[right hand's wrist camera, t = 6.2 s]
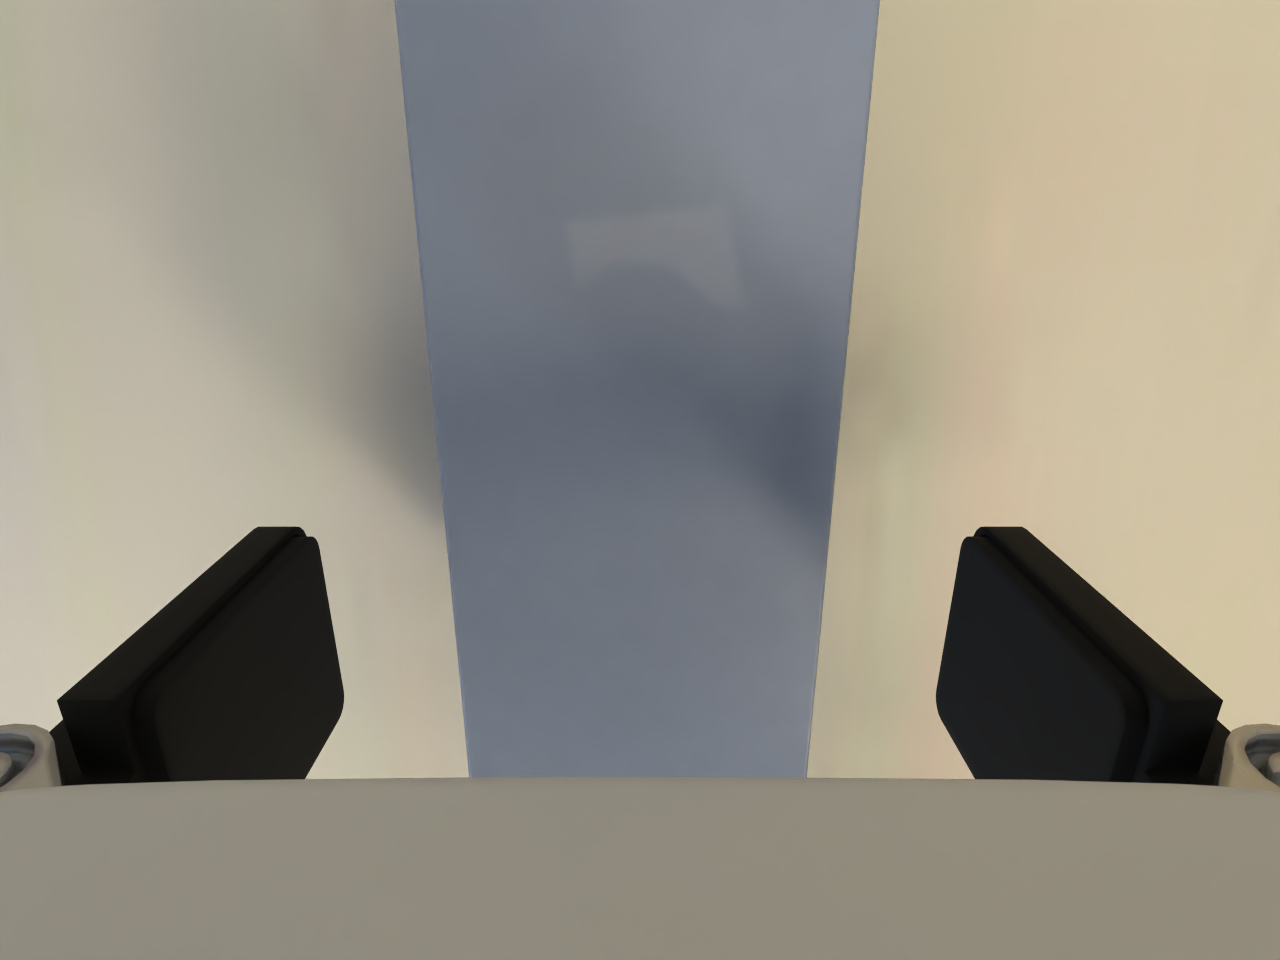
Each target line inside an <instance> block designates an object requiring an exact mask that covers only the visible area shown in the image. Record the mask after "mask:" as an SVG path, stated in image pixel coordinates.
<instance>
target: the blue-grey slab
mask: <svg viewBox="0 0 1280 960" xmlns="http://www.w3.org/2000/svg"><path fill="white" fill-rule="evenodd" d="M879 3H880V0H395V9H396V20H397V30H398V40H399V51H400V61H401V72H402V82H403V92H404V103H405V113H406V123H407V134H408V144H409V155H410V165H411V175H412V186H413V196H414V207H415V217H416V227H417V238H418V248H419V259H420V269H421V279H422V290H423V300H424V310H425V321H426V331H427V342H428V352H429V362H430V373H431V383H432V394H433V404H434V414H435V425H436V435H437V445H438V456H439V466H440V477H441V487H442V497H443V508H444V518H445V529H446V539H447V549H448V560H449V570H450V581H451V591H452V601H453V612H454V622H455V632H456V643H457V653H458V664H459V674H460V684H461V695H462V705H463V716H464V726H465V736H466V747H467V757H468V768H469V778H476V777H771V778H807V769H808V758H809V748H810V737H811V726H812V716H813V705H814V694H815V684H816V673H817V663H818V652H819V641H820V631H821V620H822V609H823V599H824V588H825V577H826V567H827V556H828V546H829V535H830V524H831V514H832V503H833V492H834V482H835V471H836V461H837V450H838V439H839V429H840V418H841V407H842V397H843V386H844V376H845V365H846V354H847V344H848V333H849V322H850V312H851V301H852V290H853V280H854V269H855V259H856V248H857V237H858V227H859V216H860V205H861V195H862V184H863V174H864V163H865V152H866V142H867V131H868V120H869V110H870V99H871V89H872V78H873V67H874V57H875V46H876V35H877V25H878V14H879Z"/></svg>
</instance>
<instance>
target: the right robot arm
mask: <svg viewBox="0 0 1280 960" xmlns="http://www.w3.org/2000/svg"><path fill="white" fill-rule="evenodd" d="M57 702H58V705H59V708H60V711H61V714H62V717H63V720H62V721H61V722H60V723H59V724H58V725H57V726H56V727H54V728H53V729H52V730H51V731H50V732H49V731H48V730H46V729H43V728H41V727H38V726H36V725H27V724H9V725H2V726H0V960H1280V726H1278V725H1271V724H1253V725H1244V726H1242V727H1239V728H1237V729H1234V730H1232V731H1231V732H1230V731H1229V730H1228V729H1227V728H1226V727H1224V726H1223V725H1222V724H1221V723H1220V722H1219V721H1218V720H1217V717H1218V714H1219V711H1220V708H1221V705H1222V702H1223V700H1222V699H1221V698H1220V697H1218V696H1217V695H1216V694H1215V693H1214V692H1213V691H1212V690H1210V689H1209V688H1208V687H1207V686H1206V685H1205V684H1204V683H1202V682H1201V681H1200V680H1199V679H1198V678H1197V677H1195V676H1194V675H1193V674H1192V673H1191V672H1190V671H1189V670H1187V669H1186V668H1185V667H1184V666H1183V665H1182V664H1181V663H1179V662H1178V661H1177V660H1176V659H1175V658H1174V657H1172V656H1171V655H1170V654H1169V653H1168V652H1167V651H1166V650H1164V649H1163V648H1162V647H1161V646H1160V645H1159V644H1158V643H1156V642H1155V641H1154V640H1153V639H1152V638H1151V637H1150V636H1148V635H1147V634H1146V633H1145V632H1144V631H1143V630H1141V629H1140V628H1139V627H1138V626H1137V625H1136V624H1135V623H1133V622H1132V621H1131V620H1130V619H1129V618H1128V617H1127V616H1125V615H1124V614H1123V613H1122V612H1121V611H1120V610H1118V609H1117V608H1116V607H1115V606H1114V605H1113V604H1112V603H1110V602H1109V601H1108V600H1107V599H1106V598H1105V597H1104V596H1102V595H1101V594H1100V593H1099V592H1098V591H1097V590H1095V589H1094V588H1093V587H1092V586H1091V585H1090V584H1089V583H1087V582H1086V581H1085V580H1084V579H1083V578H1082V577H1081V576H1079V575H1078V574H1077V573H1076V572H1075V571H1074V570H1072V569H1071V568H1070V567H1069V566H1068V565H1067V564H1066V563H1064V562H1063V561H1062V560H1061V559H1060V558H1059V557H1058V556H1056V555H1055V554H1054V553H1053V552H1052V551H1051V550H1050V549H1048V548H1047V547H1046V546H1045V545H1044V544H1043V543H1041V542H1040V541H1039V540H1038V539H1037V538H1036V537H1035V536H1033V535H1032V534H1031V533H1030V532H1029V531H1028V530H1027V529H1025V528H1023V527H980V528H979V529H978V530H976V532H975V534H974V536H973V537H966V538H965V539H964V541H963V542H962V545H961V549H960V555H959V561H958V567H957V573H956V579H955V585H954V590H953V596H952V602H951V608H950V614H949V620H948V626H947V631H946V637H945V643H944V649H943V655H942V661H941V667H940V673H939V678H938V684H937V690H936V704H937V709H938V713H939V716H940V718H941V720H942V722H943V724H944V725H945V727H946V729H947V731H948V732H949V734H950V736H951V738H952V739H953V741H954V743H955V745H956V746H957V748H958V750H959V752H960V753H961V755H962V757H963V759H964V760H965V762H966V764H967V766H968V767H969V769H970V771H971V773H972V774H973V776H974V778H975V779H885V778H771V777H476V778H387V779H305V778H306V776H307V774H308V773H309V771H310V769H311V767H312V766H313V764H314V762H315V760H316V759H317V757H318V755H319V753H320V752H321V750H322V748H323V746H324V745H325V743H326V741H327V739H328V738H329V736H330V734H331V732H332V731H333V729H334V727H335V725H336V724H337V722H338V720H339V718H340V716H341V713H342V709H343V704H344V690H343V684H342V678H341V673H340V667H339V661H338V655H337V649H336V643H335V637H334V631H333V626H332V620H331V614H330V608H329V602H328V596H327V590H326V585H325V579H324V573H323V567H322V561H321V555H320V549H319V545H318V542H317V541H316V539H315V538H314V537H307V536H306V534H305V532H304V530H302V529H301V528H300V527H257V528H255V529H253V530H252V531H251V532H250V533H249V534H248V535H247V536H245V537H244V538H243V539H242V540H241V541H240V542H239V543H237V544H236V545H235V546H234V547H233V548H232V549H230V550H229V551H228V552H227V553H226V554H225V555H224V556H222V557H221V558H220V559H219V560H218V561H217V562H216V563H214V564H213V565H212V566H211V567H210V568H209V569H208V570H206V571H205V572H204V573H203V574H202V575H201V576H199V577H198V578H197V579H196V580H195V581H194V582H193V583H191V584H190V585H189V586H188V587H187V588H186V589H185V590H183V591H182V592H181V593H180V594H179V595H178V596H176V597H175V598H174V599H173V600H172V601H171V602H170V603H168V604H167V605H166V606H165V607H164V608H163V609H162V610H160V611H159V612H158V613H157V614H156V615H155V616H153V617H152V618H151V619H150V620H149V621H148V622H147V623H145V624H144V625H143V626H142V627H141V628H140V629H139V630H137V631H136V632H135V633H134V634H133V635H132V636H130V637H129V638H128V639H127V640H126V641H125V642H124V643H122V644H121V645H120V646H119V647H118V648H117V649H116V650H114V651H113V652H112V653H111V654H110V655H109V656H108V657H106V658H105V659H104V660H103V661H102V662H101V663H99V664H98V665H97V666H96V667H95V668H94V669H93V670H91V671H90V672H89V673H88V674H87V675H86V676H85V677H83V678H82V679H81V680H80V681H79V682H78V683H76V684H75V685H74V686H73V687H72V688H71V689H70V690H68V691H67V692H66V693H65V694H64V695H63V696H62V697H60V698H59V699H58V700H57Z"/></svg>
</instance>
